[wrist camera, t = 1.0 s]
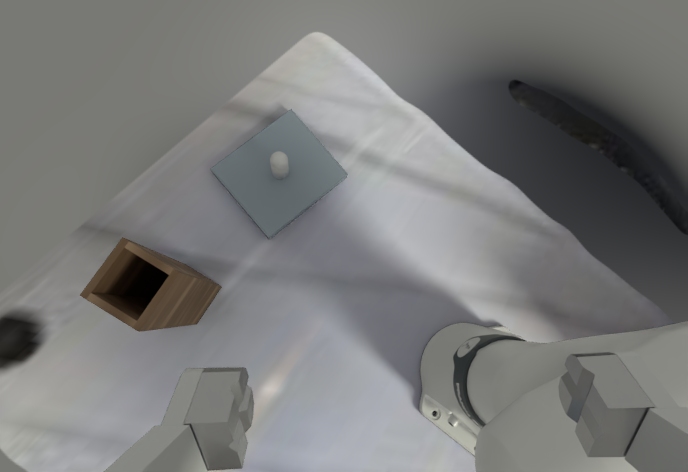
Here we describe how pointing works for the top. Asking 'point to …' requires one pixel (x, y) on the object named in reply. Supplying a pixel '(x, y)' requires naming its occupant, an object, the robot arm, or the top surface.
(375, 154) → the top surface
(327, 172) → the base plate
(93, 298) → the walnut sleeve
